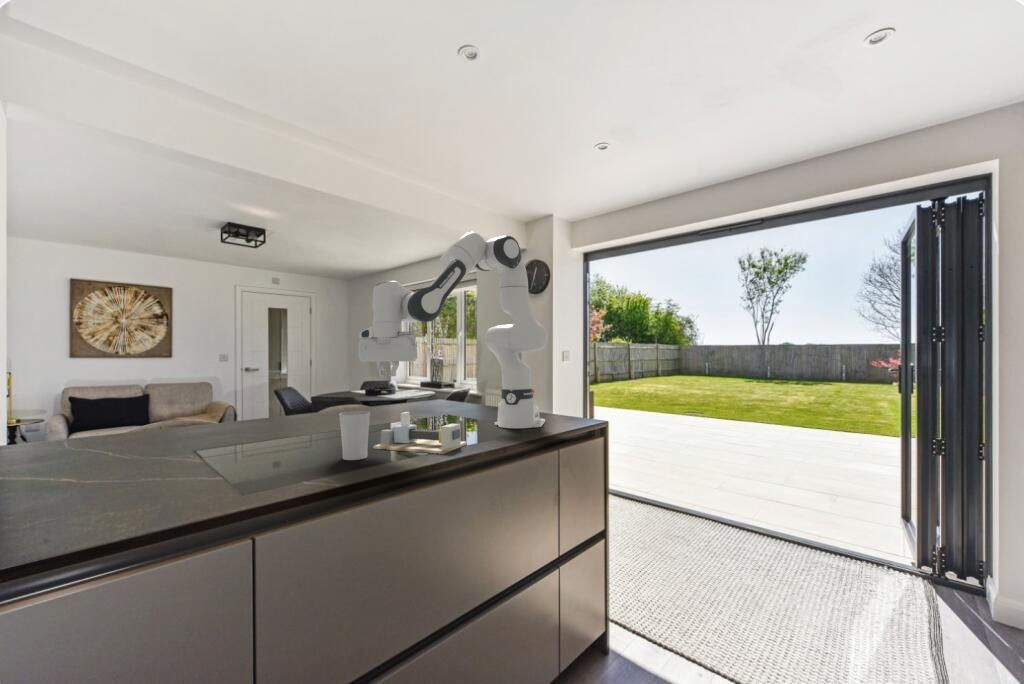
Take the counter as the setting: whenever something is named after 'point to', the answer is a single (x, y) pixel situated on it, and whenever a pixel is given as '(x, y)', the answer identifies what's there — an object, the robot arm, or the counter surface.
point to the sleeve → (404, 429)
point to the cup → (354, 434)
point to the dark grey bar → (424, 434)
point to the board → (419, 446)
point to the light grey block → (387, 437)
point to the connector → (450, 435)
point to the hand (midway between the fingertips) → (387, 376)
